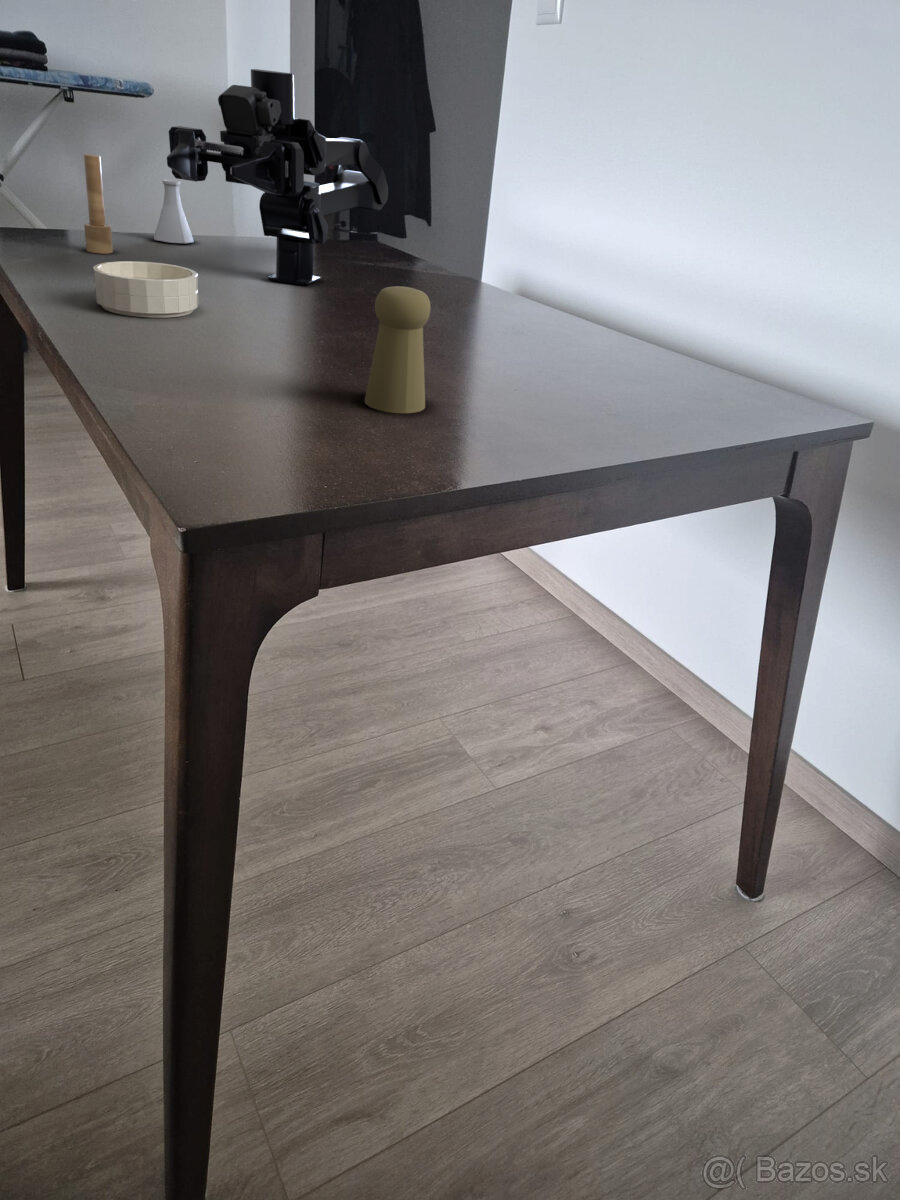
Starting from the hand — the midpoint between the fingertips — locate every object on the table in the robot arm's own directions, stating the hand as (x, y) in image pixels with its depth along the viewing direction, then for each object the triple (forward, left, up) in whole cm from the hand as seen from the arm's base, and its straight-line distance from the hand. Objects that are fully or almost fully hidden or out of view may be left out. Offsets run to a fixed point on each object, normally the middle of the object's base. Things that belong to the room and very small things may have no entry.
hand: (200, 166), depth 108 cm
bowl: (+7, -4, -16) cm, 18 cm away
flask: (-45, -26, -17) cm, 55 cm away
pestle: (-25, -29, -16) cm, 42 cm away
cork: (+30, +34, -17) cm, 48 cm away
